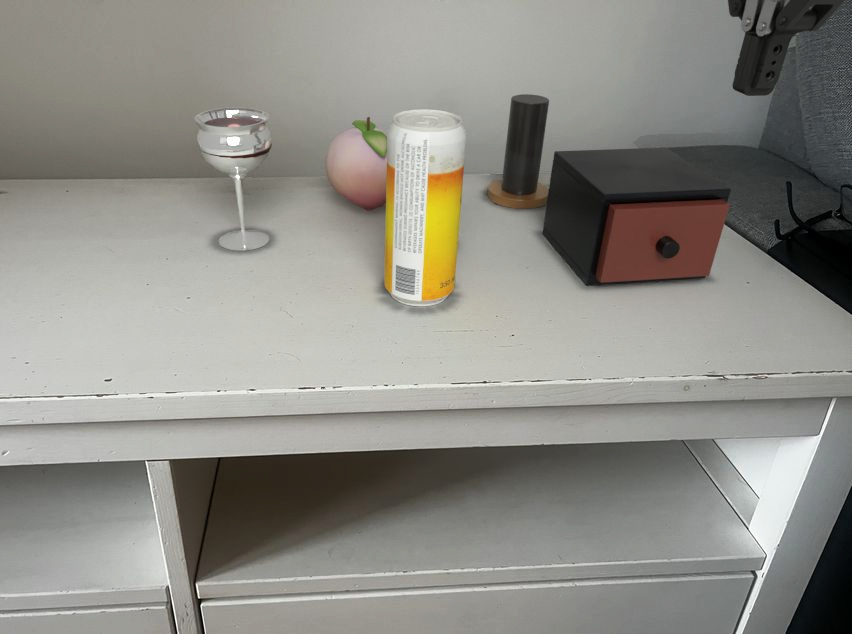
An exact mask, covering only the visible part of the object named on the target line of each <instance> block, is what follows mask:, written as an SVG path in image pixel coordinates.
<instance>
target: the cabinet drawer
mask: <svg viewBox="0 0 852 634" xmlns="http://www.w3.org/2000/svg"><path fill="white" fill-rule="evenodd" d="M729 210H730V203H728V202H725V201H724V200H705V199H683V200H662V201H640V202H619V203H611V205H609V210H608V215H607V220H606V225H605V230H604V235H603V240H602V245H601V250H600V255H599V260H598V265H597V270H596V275H595V277H596V278H597V279H598V281H599V282H600V283H605V282H620V281H636V280H652V279H667V278H683V277H698V276H706V277H709V276H710V273H711V270H712V267H713V266H712V265H713V264H714V260H715V257H716V254H717V250H718V247H719V243H720V240H721V236H722V233H723V230H724V226H725V223H726V219H727V216H728V212H729Z"/></svg>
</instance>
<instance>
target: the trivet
mask: <svg viewBox="0 0 852 634" xmlns="http://www.w3.org/2000/svg"><path fill="white" fill-rule="evenodd" d="M501 186H502V178H501V179H497V180H493V181H492V182H490V183H489V184H488V186H487V194H486V196H487V198H488V199H489V201H491V202H492V203H494V204H496V205H499V206H502V207H506V208H512V209H525V210H526V209H535V208H540V207H543V206H545V205H547V198H548V192H549V186H548V187H547V185H545V184H543V183H540V182H538V185H537V191H536V192H535V193H533V194H530V195H514V194H510V193H507V192H505V191H503V190H502V188H501Z"/></svg>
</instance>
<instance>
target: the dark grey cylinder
mask: <svg viewBox="0 0 852 634" xmlns="http://www.w3.org/2000/svg"><path fill="white" fill-rule="evenodd" d="M549 106H550V99H549V98H547V97H546V96H542V95H538V94H531V93H530V94H527V93H526V94H525V93H524V94H516V95H513V96H512V97H511V98H510V106H509V116H508V124H507V132H506V142H505V151H504V160H503V161H504V162H503V169H502V178H501V179H502V186H501V188H502V190H503V191H505V192H507V193H510V194H514V195H530V194H533V193H535V192H536V191H537V185H538V183H539V178H540V177H539V176H540V170H541V163H542V156H543V155H542V154H543V148H544V141H545V134H546V127H547V119H548V113H549Z"/></svg>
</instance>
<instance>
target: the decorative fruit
mask: <svg viewBox="0 0 852 634" xmlns="http://www.w3.org/2000/svg"><path fill="white" fill-rule="evenodd" d="M351 125H352V126H353V127H350V128H348V129H346V130H344V131H342V132H340V133H339V134H337V135H336V136H335V137H334V138H333V139H332V141H331V142H330V144H329V145H328V148H327V150H326V152H325V158H324V159H325V172H326V177H327V180H328V182H329V184H330V185H331V187H332V188H333V189H334V191H335V192H336V193H337V194H338V195H339V196H341V197H343V198H344V199H346V200H348V201H349V202H350V203H352V204H354V205H356V206H358V207H361V208H364V209H365V211H371V210H375V209H377V208H379V207H383V206H384V205H386V174H387V132H385V131H384V130H383V129H381V128H379V127H378V126H377V125H376V124H375V123H373V121H371V117H370V116H367V117H366V120H361V119H356V120H354V121H353V122H352V123H351ZM376 126H377V127H376Z"/></svg>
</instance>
